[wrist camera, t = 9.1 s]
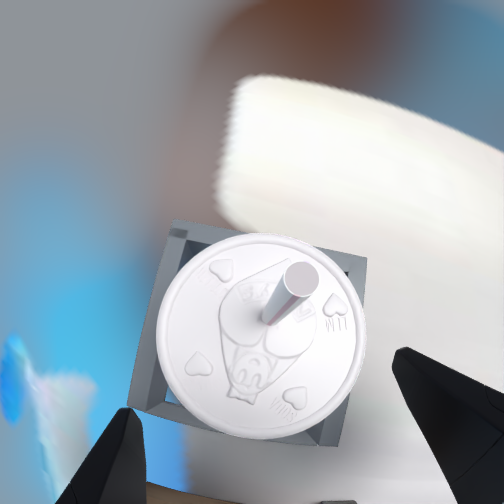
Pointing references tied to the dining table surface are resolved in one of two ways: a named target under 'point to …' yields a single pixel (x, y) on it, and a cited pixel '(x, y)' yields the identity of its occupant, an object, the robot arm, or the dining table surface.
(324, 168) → the dining table surface
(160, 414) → the endcap cradle
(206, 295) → the smoothie
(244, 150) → the dining table surface
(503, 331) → the dining table surface
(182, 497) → the capped slat
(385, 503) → the dining table surface
